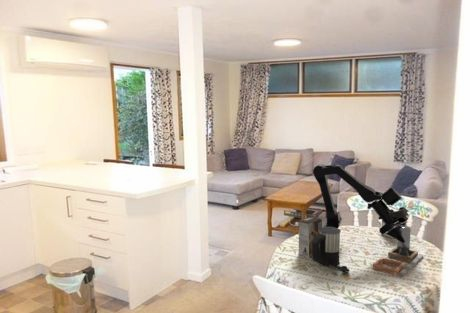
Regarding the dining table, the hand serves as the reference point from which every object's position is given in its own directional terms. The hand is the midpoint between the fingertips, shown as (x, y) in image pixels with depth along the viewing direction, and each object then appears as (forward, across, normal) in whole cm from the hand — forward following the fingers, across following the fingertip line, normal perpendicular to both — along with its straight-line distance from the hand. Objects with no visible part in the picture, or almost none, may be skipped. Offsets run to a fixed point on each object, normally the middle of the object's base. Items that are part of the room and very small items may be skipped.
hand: (406, 240), depth 162 cm
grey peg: (+4, 0, +6) cm, 7 cm away
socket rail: (+6, -8, +5) cm, 11 cm away
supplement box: (-6, +24, +18) cm, 31 cm away
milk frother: (-7, -32, +18) cm, 37 cm away
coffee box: (-17, -26, +29) cm, 43 cm away
